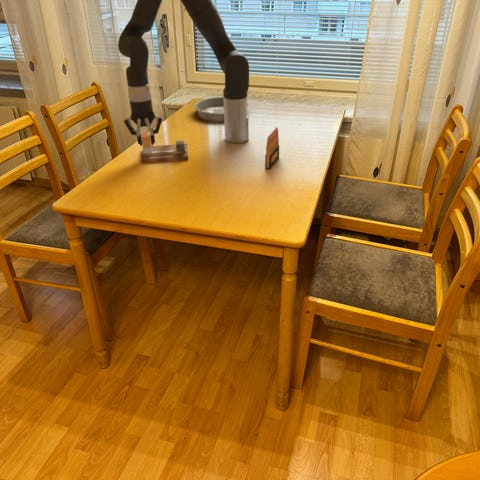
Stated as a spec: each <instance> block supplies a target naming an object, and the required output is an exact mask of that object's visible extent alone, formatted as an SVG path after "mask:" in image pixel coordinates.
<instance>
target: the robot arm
mask: <svg viewBox="0 0 480 480" xmlns="http://www.w3.org/2000/svg"><path fill="white" fill-rule="evenodd" d="M162 2H163V0H137V1H136V4H135V7H134V9H133V11H132V14H131V18H130V20H129V21H128V22H127V24H126V25H125V26H124V29H122V31H121V33H120V36H119V38H118V41H117V42H118V44H117V47H118V51H119V52H120V54H121V55H122V56H124V57H125V58H129V66H127V67H126V69H125V76H126V82H127V93H128V100H129V106H130V117H125V118H124V119H123V122H124V124H125V126H126V128H127V130H128V132H129V133H130V134H131V135H132V136H136V139H137V140H136V141H137V144H138V145H140V147H143V143H142V134H141V128H143V127H146V128H147V129H148V132H149V134H150V139H151V145H152V146H154V144H155V143H156V139H155V138H156V137H155V135H156V134H159V132H160V129H161V125H162V121H163V116H162V115H156V113H155V112H154V111H153V110H154V109H153V102H152V101H153V99H152V94H151V88H150V83H149V76H148V65H149V54H150V53H149V47H148V45H147V41H146V40H145V39H144V38H143V36H144V34H146V33H149V32H150V31H151V30H152V29H153V26H154V23H155V20H156V18H157V15H158V14H159V13H158V12H159V10H160V7H161V4H162ZM180 2H181V4H182V5H183V7H184V8H185V10H186V12H187V15H188V16H189V17H190V19H191V21H192V22H193V23H194V25H195V27H196V29H197V30H198V31H199V33H200V34H201V36H202V37H203V38H204V39H205V41H206V42H207V44H208V45H209V47H210V49H211V50H212V52H213V54H214V56H215V58H216V60H217V62H218V64H219V67H220V69H221V71H222V72H223V74H224V88H223V91H222V94H223V96H222V97H223V99H224V106H223V108H224V124H223V125H224V140H225V141H226V142H228V143H232V144H238V143H240V144H241V143H244V142H248V141H250V139H249V138H250V137H249V136H250V135H249V134H250V133H249V121H250V120H249V119H250V118H249V114H248V109H249V108H248V107H249V106H248V107H247V103H248V93H249V87H250V63H249V60H248V59H247V57H246V56H245V55H244V54H242V53H241V52H239V50H238V49H237V48H236V46H235V45H234V44H233V42H232V41H231V39H230V38H229V36H228V33H227V31H226V28H225V25H224V22H223V19H222V16H221V14H220V12H219V10H218V8H217V6H216V5H215V2H214V1H213V0H180ZM154 120H155V122H156V126H155V129H154V127H153V124H152V123H153V122H154ZM132 122H133V123H134V124H135V125H136V130H135V129H134V128H135V127H133V125H132Z"/></svg>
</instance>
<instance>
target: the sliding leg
mask: <svg viewBox="0 0 480 480" xmlns="http://www.w3.org/2000/svg"><path fill="white" fill-rule="evenodd" d="M141 137H142V150H143V152H144V154H147V153H152V146H153V145H151V138H150V133H148V134H147V133H146V134H145V133H144V134H141Z"/></svg>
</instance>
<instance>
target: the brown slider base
mask: <svg viewBox="0 0 480 480" xmlns="http://www.w3.org/2000/svg"><path fill="white" fill-rule="evenodd" d="M188 150H189V149H188V143H185V140H177V141H175V144H162V145H160V144H159V145H152V153H147V154H144V152H143V149H142V151H141V164H147V163H149V164H151V163H165V162H166V163H167V162H177V161H189V152H188Z"/></svg>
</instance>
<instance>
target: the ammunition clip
mask: <svg viewBox="0 0 480 480" xmlns="http://www.w3.org/2000/svg"><path fill="white" fill-rule="evenodd" d="M279 139H280V137H279V129H278V127H275V129H274V130H272V132H270V134H269V135H268V136H267V139H266V147H265V149H266V150H265V155H264V156H265V157H264V158H265V159H264V170H271V169H272V168H273V166H274V165H275V164H276V162H277V161H278V160H279V158H280V145H279V143H280V141H279Z"/></svg>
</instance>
